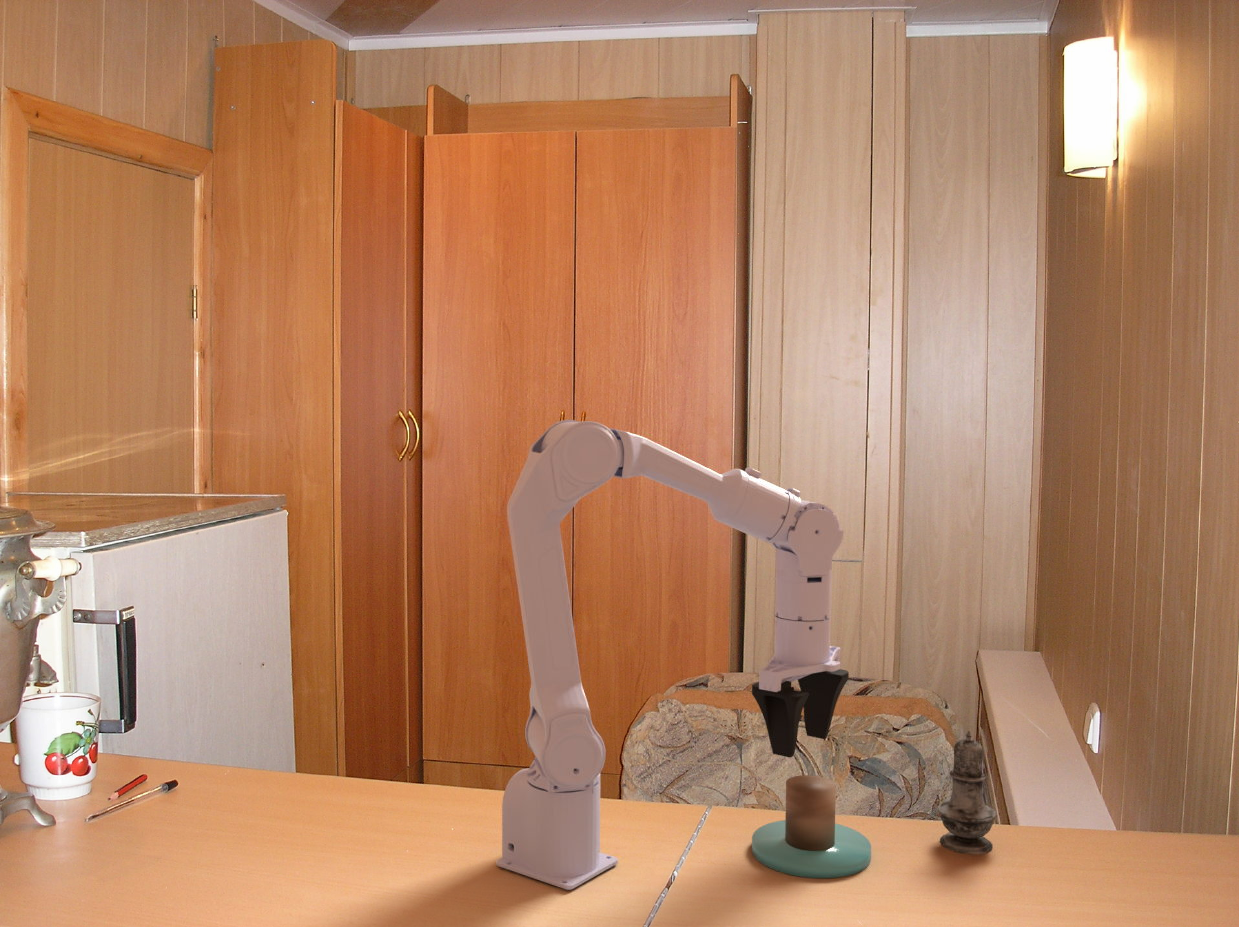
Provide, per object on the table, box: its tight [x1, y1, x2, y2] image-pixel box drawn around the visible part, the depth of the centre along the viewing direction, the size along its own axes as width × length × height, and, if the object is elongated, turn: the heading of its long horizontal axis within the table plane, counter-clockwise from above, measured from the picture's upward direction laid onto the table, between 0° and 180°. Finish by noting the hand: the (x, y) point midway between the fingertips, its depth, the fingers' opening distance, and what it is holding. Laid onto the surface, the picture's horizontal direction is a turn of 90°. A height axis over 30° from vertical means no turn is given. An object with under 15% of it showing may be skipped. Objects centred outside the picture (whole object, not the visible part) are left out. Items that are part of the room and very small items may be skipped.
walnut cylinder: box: [784, 774, 837, 851], centre depth 110 cm, size 5×5×6 cm
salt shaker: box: [937, 730, 997, 855], centre depth 113 cm, size 6×6×12 cm
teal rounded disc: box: [751, 819, 872, 879], centre depth 111 cm, size 12×12×1 cm
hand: (800, 745), depth 112 cm, fingers open, 7 cm apart
